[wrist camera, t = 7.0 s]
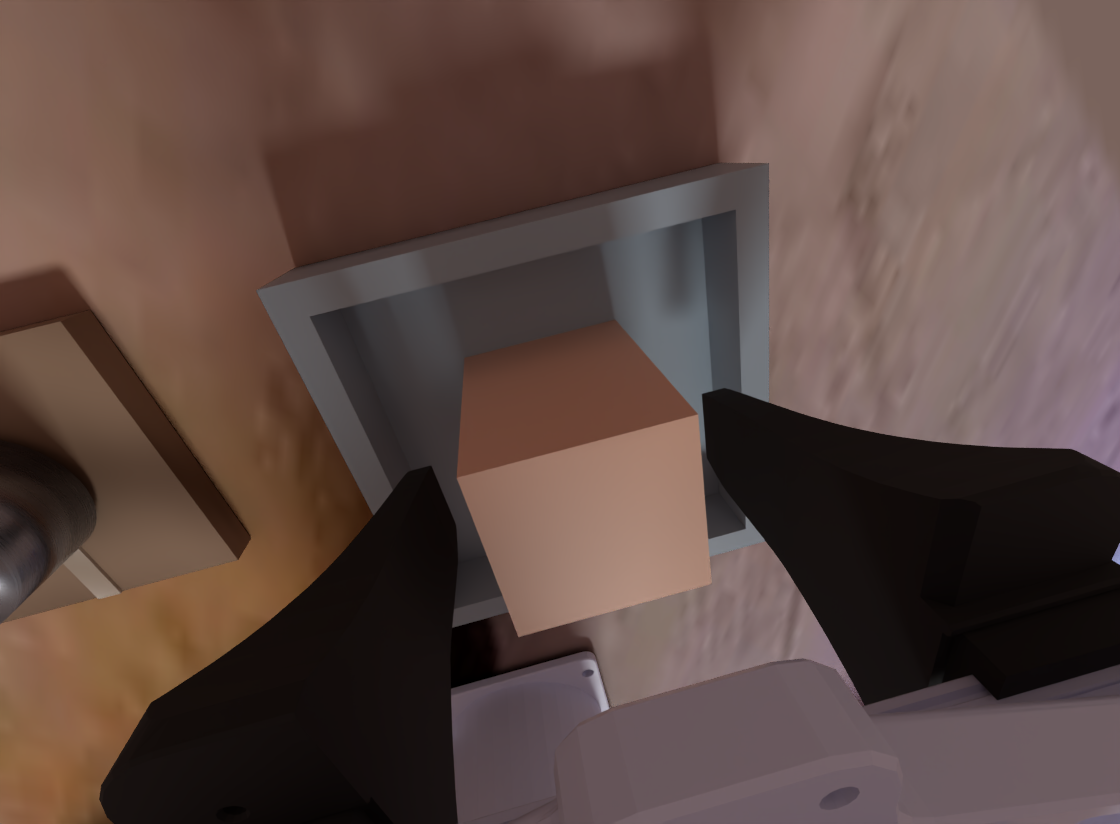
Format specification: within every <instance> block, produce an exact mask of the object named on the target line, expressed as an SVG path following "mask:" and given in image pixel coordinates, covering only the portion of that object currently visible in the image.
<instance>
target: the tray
mask: <svg viewBox="0 0 1120 824" xmlns="http://www.w3.org/2000/svg"><path fill="white" fill-rule="evenodd" d="M256 291H257V293H258V295H259V297H260V299H261V301H262V303H263V305H264V307H265V309H266V311H267V313H268V314H269V316H270V318H271V320H272V322H273V324H274V326H275V328H276V330H277V332H278V334H279V335H280V337H281V339H282V341H283V343H284V345H285V347H286V349H287V351H288V353H289V355H290V357H291V358H292V360H293V362H294V364H295V366H296V368H297V370H298V372H299V374H300V376H301V378H302V380H303V381H304V383H305V385H306V387H307V389H308V391H309V393H310V395H311V397H312V399H313V401H314V403H315V404H316V406H317V408H318V410H319V412H320V414H321V416H322V418H323V420H324V422H325V424H326V425H327V427H328V429H329V431H330V433H331V435H332V437H333V439H334V441H335V443H336V445H337V447H338V448H339V450H340V452H341V454H342V456H343V458H344V460H345V462H346V464H347V466H348V468H349V470H350V471H351V473H352V475H353V477H354V479H355V481H356V483H357V485H358V487H359V489H360V491H361V493H362V494H363V496H364V498H365V500H366V502H367V504H368V506H369V508H370V510H371V512H372V514H373V515H374V514H375V513H376V512H377V511H378V509H379V508H380V507H381V505H382V504H383V503H384V502H385V500H386V499H387V498H388V496H389V495H390V494H391V492H392V491H393V490H394V488H395V487H396V486H397V484H398V483H399V482H400V480H401V479H402V478H403V477H404V475H405V474H406V473H407V472H408V471H412V470H415V469H419V468H423V467H427V466H430V465H431V466H432V468H433V471H434V473H435V475H436V478H437V480H438V483H439V485H440V487H441V490H442V492H443V494H444V497H445V499H446V502H447V504H448V506H449V509H450V511H451V514H452V516H453V518H454V521H455V523H456V528H457V543H458V569H457V581H456V592H455V603H454V614H453V625H452V628H453V627H457V626H460V625H464V624H468V623H471V622H475V621H478V620H482V619H486V618H489V617H493V616H497V615H500V614H504V613H507V612H509V611H508V609H507V606H506V603H505V601H504V598H503V596H502V593H501V591H500V588H499V585H498V583H497V580H496V578H495V575H494V573H493V570H492V567H491V565H490V562H489V560H488V557H487V555H486V552H485V549H484V547H483V544H482V542H481V539H480V537H479V534H478V531H477V529H476V526H475V524H474V521H473V519H472V516H471V513H470V511H469V508H468V506H467V503H466V501H465V498H464V495H463V493H462V490H461V488H460V485H459V483H458V480H457V465H458V450H459V434H460V419H461V404H462V388H463V373H464V358H466V357H470V356H474V355H478V354H482V353H486V352H489V351H493V350H497V349H501V348H505V347H509V346H513V345H517V344H521V343H525V342H529V341H533V340H537V339H541V338H545V337H549V336H552V335H556V334H560V333H564V332H568V331H572V330H576V329H580V328H584V327H588V326H592V325H596V324H600V323H604V322H608V321H612V320H616V321H617V322H618V323H619V324H620V326H621V327H622V328H623V329H624V330H625V331H626V332H627V334H628V335H629V336H630V337H631V338H632V339H633V340H634V342H635V343H636V344H637V345H638V346H639V347H640V348H641V350H642V351H643V352H644V353H645V354H646V355H647V356H648V358H649V359H650V360H651V361H652V362H653V363H654V364H655V366H656V367H657V368H658V369H659V370H660V371H661V372H662V374H663V375H664V376H665V377H666V378H667V379H668V380H669V382H670V383H671V384H672V385H673V386H674V387H675V388H676V390H677V391H678V392H679V393H680V394H681V395H682V396H683V398H684V399H685V400H686V401H687V402H688V403H689V404H690V406H691V407H692V408H693V409H694V410H695V411H696V412H697V414H698V418H699V431H700V443H701V456H702V469H703V481H704V494H705V506H706V519H707V532H708V544H709V557H710V556H714V555H717V554H721V553H725V552H728V551H732V550H735V549H739V548H743V547H746V546H750V545H754V544H757V543H761V542H764V541H765V540H764V538H763V537H762V536H761V535H760V533H759V532H758V531H757V530H756V528H755V527H754V526H753V525H752V523H751V522H750V521H749V520H748V518H747V517H746V516H745V514H744V513H743V512H742V511H741V509H740V508H739V507H738V506H737V504H736V503H735V502H734V500H733V499H732V498H731V497H730V495H729V494H728V493H727V491H726V490H725V489H724V487H723V486H722V484H721V482H720V481H719V479H718V477H717V476H716V474H715V472H714V470H713V468H712V467H711V465H710V463H709V461H708V459H707V456H706V443H705V430H704V417H703V404H702V394H703V393H707V392H711V391H714V390H718V389H722V388H727V389H730V390H734V391H737V392H740V393H743V394H746V395H749V396H752V397H754V398H757V399H760V400H763V401H766V402H768V403H769V163H717V164H713V165H709V166H705V167H701V168H697V169H693V170H689V171H685V172H681V173H677V174H673V175H669V176H665V177H661V178H657V179H653V180H649V181H644V182H640V183H636V184H632V185H628V186H624V187H620V188H616V189H612V190H608V191H604V192H600V193H596V194H592V195H588V196H584V197H580V198H576V199H572V200H568V201H564V202H560V203H556V204H552V205H547V206H543V207H539V208H535V209H531V210H527V211H523V212H519V213H515V214H511V215H507V216H503V217H499V218H495V219H491V220H487V221H483V222H479V223H475V224H471V225H467V226H463V227H459V228H455V229H451V230H446V231H442V232H438V233H434V234H430V235H426V236H422V237H418V238H414V239H410V240H406V241H402V242H398V243H394V244H390V245H386V246H382V247H378V248H374V249H370V250H366V251H362V252H358V253H354V254H349V255H345V256H341V257H337V258H333V259H329V260H325V261H321V262H317V263H313V264H309V265H305V266H301V267H297V268H294V269H292V270H290V271H289V272H287V273H285V274H284V275H282V276H280V277H278V278H277V279H275V280H273V281H272V282H270V283H268V284H266V285H265V286H263V287H261V288H260V289H258V290H256Z"/></svg>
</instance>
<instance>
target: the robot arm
mask: <svg viewBox="0 0 1120 824" xmlns="http://www.w3.org/2000/svg"><path fill="white" fill-rule="evenodd" d="M702 404H703V417H704V430H705V443H706V456H707V459H708V461H709V463H710V465H711V467H712V468H713V470H714V472H715V474H716V476H717V477H718V479H719V481H720V482H721V484H722V486H723V487H724V489H725V490H726V491H727V493H728V494H729V495H730V497H731V498H732V499H733V500H734V502H735V503H736V504H737V506H738V507H739V508H740V509H741V511H742V512H743V513H744V514H745V516H746V517H747V518H748V520H749V521H750V522H751V523H752V525H753V526H754V527H755V528H756V530H757V531H758V532H759V533H760V535H761V536H762V537H763V538H764V540H765V541H766V542H767V544H768V545H769V546H770V547H771V549H772V550H773V551H774V553H775V554H776V555H777V557H778V558H779V560H780V561H781V562H782V564H783V565H784V567H785V568H786V570H787V571H788V573H789V575H790V576H791V578H792V579H793V581H794V583H795V584H796V586H797V587H798V589H799V591H800V592H801V594H802V595H803V597H804V599H805V600H806V602H807V604H808V605H809V607H810V609H811V610H812V612H813V614H814V615H815V617H816V619H817V620H818V622H819V624H820V625H821V627H822V629H823V631H824V632H825V634H826V636H827V637H828V639H829V641H830V643H831V645H832V646H833V648H834V650H835V652H836V653H837V655H838V657H839V659H840V661H841V662H842V664H843V666H844V668H845V669H846V671H847V673H848V675H849V677H850V678H851V680H852V682H853V684H854V686H855V688H856V690H857V692H858V693H859V695H860V697H861V699H862V701H863V703H864V705H865V706H861V705H860V703H859V702H858V700H857V699H856V697H855V696H854V695H853V693H852V692H851V690H850V689H849V688H848V686H847V685H846V683H845V682H844V680H843V679H842V678H841V676H840V675H839V673H838V672H837V671H836V669H833V668H830V667H828V666H825V665H822V664H820V663H817V662H814V661H811V660H807V659H795V660H786V661H777V662H770V663H766V664H763V665H759V666H756V667H752V668H749V669H745V670H742V671H738V672H735V673H731V674H728V675H724V676H721V677H717V678H714V679H710V680H707V681H703V682H700V683H696V684H693V685H689V686H686V687H682V688H679V689H675V690H672V691H668V692H665V693H661V694H658V695H654V696H651V697H647V698H644V699H640V700H637V701H633V702H630V703H626V704H623V705H619V706H616V707H612V708H610V707H609V703H608V700H607V696H606V693H605V689H604V686H603V682H602V678H601V675H600V671H599V668H598V664H597V661H596V657H595V655H594V654H593V653H591V652H588V651H584V652H580V653H576V654H573V655H569V656H565V657H562V658H558V659H555V660H551V661H548V662H544V663H541V664H537V665H533V666H530V667H526V668H523V669H519V670H516V671H512V672H508V673H505V674H501V675H498V676H494V677H491V678H487V679H484V680H480V681H476V682H473V683H469V684H466V685H462V686H459V687H455V688H451V661H450V656H451V636H452V625H453V614H454V603H455V592H456V581H457V569H458V543H457V528H456V523H455V521H454V518H453V516H452V514H451V511H450V509H449V506H448V504H447V502H446V499H445V497H444V494H443V492H442V490H441V487H440V485H439V483H438V480H437V478H436V475H435V473H434V471H433V468H432V466H431V465H430V466H427V467H423V468H419V469H415V470H412V471H408V472H407V473H406V474H405V475H404V477H403V478H402V479H401V480H400V482H399V483H398V484H397V486H396V487H395V488H394V490H393V491H392V492H391V494H390V495H389V496H388V498H387V499H386V500H385V502H384V503H383V504H382V505H381V507H380V508H379V509H378V511H377V512H376V513H375V514H374V516H373V517H372V518H371V520H370V521H369V522H368V523H367V525H366V526H365V527H364V528H363V529H362V530H361V532H360V533H359V534H358V535H357V536H356V537H355V539H354V540H353V541H352V542H351V543H350V544H349V546H348V547H347V548H346V549H345V550H344V551H343V553H342V554H341V555H340V556H339V557H338V558H337V559H336V560H335V561H334V562H333V563H332V564H331V565H330V566H329V567H328V568H327V569H326V570H325V571H324V572H323V573H322V574H321V575H320V576H319V577H318V578H317V579H316V580H315V581H314V582H313V583H312V584H311V585H310V586H309V587H308V588H307V589H306V590H305V591H303V592H302V593H301V594H300V595H299V596H298V597H296V598H295V599H294V600H293V601H292V602H291V603H289V604H288V605H287V606H286V607H285V608H284V609H282V610H281V611H280V612H279V613H278V614H277V615H275V616H274V617H273V618H272V619H271V620H270V621H268V622H267V623H266V624H265V625H263V626H262V627H261V628H259V629H258V630H257V631H256V632H254V633H253V634H252V635H250V636H249V637H248V638H246V639H245V640H244V641H242V642H241V643H240V644H238V645H237V646H235V647H234V648H233V649H231V650H230V651H229V652H227V653H226V654H225V655H223V656H222V657H220V658H219V659H217V660H216V661H215V662H213V663H212V664H210V665H209V666H207V667H206V668H204V669H203V670H201V671H200V672H198V673H197V674H195V675H193V676H192V677H190V678H189V679H187V680H186V681H184V682H183V683H181V684H180V685H178V686H177V687H175V688H174V689H172V690H171V691H169V692H167V693H166V694H164V695H163V696H161V697H160V698H158V699H156V700H155V701H153V702H151V704H150V705H149V707H148V708H147V710H146V712H145V714H144V715H143V717H142V719H141V720H140V722H139V724H138V725H137V727H136V729H135V730H134V732H133V734H132V735H131V737H130V739H129V740H128V742H127V743H126V745H125V747H124V748H123V750H122V752H121V753H120V755H119V757H118V758H117V760H116V762H115V763H114V765H113V767H112V768H111V770H110V772H109V773H108V775H107V777H106V778H105V780H104V782H103V783H102V785H101V791H100V798H99V800H100V802H101V804H102V807H103V809H104V811H105V814H106V816H107V818H109V819H110V820H111V821H112V822H113V823H114V824H1120V565H1119V564H1117V563H1116V562H1114V561H1112V558H1113V556H1114V553H1115V551H1116V549H1117V547H1118V545H1119V543H1120V473H1119V472H1117V471H1116V470H1114V469H1112V468H1110V467H1108V466H1106V465H1104V464H1102V463H1100V462H1098V461H1096V460H1094V459H1092V458H1090V457H1088V456H1086V455H1083V454H1081V453H1079V452H1077V451H1075V450H1072V449H1052V448H1008V447H988V446H975V445H961V444H951V443H941V442H932V441H925V440H917V439H910V438H903V437H897V436H891V435H885V434H879V433H875V432H870V431H865V430H860V429H856V428H851V427H847V426H843V425H839V424H835V423H831V422H828V421H824V420H821V419H817V418H814V417H810V416H807V415H804V414H801V413H798V412H795V411H792V410H789V409H786V408H783V407H780V406H777V405H774V404H771V403H768V402H766V401H763V400H760V399H757V398H754V397H752V396H749V395H746V394H743V393H740V392H737V391H734V390H730V389H727V388H722V389H718V390H714V391H711V392H707V393H703V394H702Z"/></svg>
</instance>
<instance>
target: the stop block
mask: <svg viewBox="0 0 1120 824" xmlns="http://www.w3.org/2000/svg"><path fill="white" fill-rule="evenodd" d="M457 480H458V483H459V485H460V488H461V490H462V493H463V495H464V498H465V501H466V503H467V506H468V508H469V511H470V513H471V516H472V519H473V521H474V524H475V526H476V529H477V531H478V534H479V537H480V539H481V542H482V544H483V547H484V549H485V552H486V555H487V557H488V560H489V562H490V565H491V567H492V570H493V573H494V575H495V578H496V580H497V583H498V585H499V588H500V591H501V593H502V596H503V598H504V601H505V603H506V606H507V609H508V611H509V614H510V616H511V619H512V621H513V624H514V627H515V629H516V632H517V634H518V637H521V636H525V635H528V634H532V633H535V632H539V631H543V630H546V629H550V628H554V627H557V626H561V625H564V624H568V623H572V622H575V621H579V620H582V619H586V618H590V617H593V616H597V615H601V614H604V613H608V612H611V611H615V610H619V609H622V608H626V607H630V606H633V605H637V604H640V603H644V602H648V601H651V600H655V599H659V598H662V597H666V596H669V595H673V594H677V593H680V592H684V591H688V590H691V589H695V588H698V587H702V586H706V585H709V584H712V582H711V569H710V557H709V544H708V532H707V519H706V506H705V494H704V481H703V469H702V456H701V443H700V431H699V418H698V414H697V412H696V411H695V410H694V409H693V408H692V407H691V406H690V404H689V403H688V402H687V401H686V400H685V399H684V398H683V396H682V395H681V394H680V393H679V392H678V391H677V390H676V388H675V387H674V386H673V385H672V384H671V383H670V382H669V380H668V379H667V378H666V377H665V376H664V375H663V374H662V372H661V371H660V370H659V369H658V368H657V367H656V366H655V364H654V363H653V362H652V361H651V360H650V359H649V358H648V356H647V355H646V354H645V353H644V352H643V351H642V350H641V348H640V347H639V346H638V345H637V344H636V343H635V342H634V340H633V339H632V338H631V337H630V336H629V335H628V334H627V332H626V331H625V330H624V329H623V328H622V327H621V326H620V324H619V323H618V322H617V321H616V320H612V321H608V322H604V323H600V324H596V325H592V326H588V327H584V328H580V329H576V330H572V331H568V332H564V333H560V334H556V335H552V336H549V337H545V338H541V339H537V340H533V341H529V342H525V343H521V344H517V345H513V346H509V347H505V348H501V349H497V350H493V351H489V352H486V353H482V354H478V355H474V356H470V357H466V358H464V373H463V388H462V404H461V419H460V434H459V450H458V465H457Z"/></svg>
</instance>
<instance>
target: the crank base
mask: <svg viewBox="0 0 1120 824" xmlns="http://www.w3.org/2000/svg"><path fill="white" fill-rule="evenodd" d="M0 440H2V441H7V442H11V443H15V444H18V445H21V446H24V447H27V448H30V449H32V450H35V451H37V452H39V453H42V454H43V455H45V456H47V457H49V458H51V459H53V460H54V461H56V462H58V463H59V464H61V465H62V466H64V467H65V468H66V469H67V470H69V471H70V472H71V473H72V474H73V475H75V476H76V477H77V478H78V479H79V480H80V481H81V483H82V484H83V485H84V486H85V487H86V489H87V490H88V492H89V494H90V495H91V497H92V499H93V501H94V504H95V508H96V514H97V520H96V526H95V529H94V531H93V533H92V534H91V536H90V538H89V539H88V540H87V541H86V542H85V543H84V544H83V545H82V546H81V547H80V548H79V549H78V550H77V551H76V552H75V553H73V554H72V555H71V556H70V557H69V558H68V559H67V560H66V561H65V562H64V563H63V564H62V565H61V566H60V567H59V568H58V569H57V570H56V571H55V572H54V573H53V574H52V575H51V576H50V577H49V578H48V579H47V580H46V581H45V582H44V583H43V584H42V585H41V586H39V587H38V588H37V589H36V590H35V591H34V592H33V593H32V594H31V595H30V596H29V597H28V598H27V599H26V600H25V601H24V602H23V603H22V604H21V605H20V606H19V607H18V608H17V609H16V610H15V611H14V612H13V613H12V614H11V615H10V616H9V617H8V618H7V619H5V620H4V621H3V622H2V623H4V622H8V621H12V620H15V619H19V618H23V617H27V616H30V615H34V614H38V613H42V612H45V611H49V610H53V609H57V608H60V607H64V606H68V605H71V604H75V603H79V602H83V601H86V600H90V599H94V598H98V599H101V598H105V597H109V596H112V595H116V594H120V593H121V592H122V591H124V590H128V589H131V588H135V587H139V586H143V585H146V584H150V583H154V582H158V581H161V580H165V579H169V578H173V577H176V576H180V575H184V574H187V573H191V572H195V571H199V570H202V569H206V568H210V567H214V566H217V565H221V564H225V563H229V562H232V561H236V560H238V559H239V558H240V556H241V554H242V553H243V551H244V549H245V548H246V546H247V544H248V543H249V541H250V539H251V538H250V536H249V535H248V533H247V532H246V530H245V529H244V528H243V526H242V525H241V523H240V522H239V520H238V519H237V518H236V516H235V515H234V513H233V512H232V511H231V509H230V508H229V506H228V505H227V503H226V502H225V501H224V499H223V498H222V496H221V495H220V494H219V492H218V491H217V489H216V488H215V486H214V485H213V484H212V482H211V481H210V479H209V478H208V477H207V475H206V474H205V472H204V471H203V469H202V468H201V467H200V465H199V464H198V462H197V461H196V459H195V458H194V457H193V455H192V454H191V452H190V451H189V450H188V448H187V447H186V445H185V444H184V442H183V441H182V440H181V438H180V437H179V435H178V434H177V433H176V431H175V430H174V428H173V427H172V425H171V424H170V423H169V421H168V420H167V418H166V417H165V416H164V414H163V413H162V411H161V410H160V408H159V407H158V406H157V404H156V403H155V401H154V400H153V398H152V397H151V396H150V394H149V393H148V391H147V390H146V389H145V387H144V386H143V384H142V383H141V381H140V380H139V379H138V377H137V376H136V374H135V373H134V372H133V370H132V369H131V367H130V366H129V364H128V363H127V362H126V360H125V359H124V357H123V356H122V355H121V353H120V352H119V350H118V349H117V347H116V346H115V345H114V343H113V342H112V340H111V339H110V337H109V336H108V335H107V333H106V332H105V330H104V329H103V328H102V326H101V325H100V323H99V322H98V320H97V319H96V318H95V316H94V315H93V313H92V312H91V311H90V310H88V311H84V312H80V313H76V314H72V315H68V316H64V317H60V318H56V319H51V320H47V321H43V322H39V323H35V324H31V325H27V326H23V327H19V328H15V329H11V330H7V331H3V332H0Z"/></svg>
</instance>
